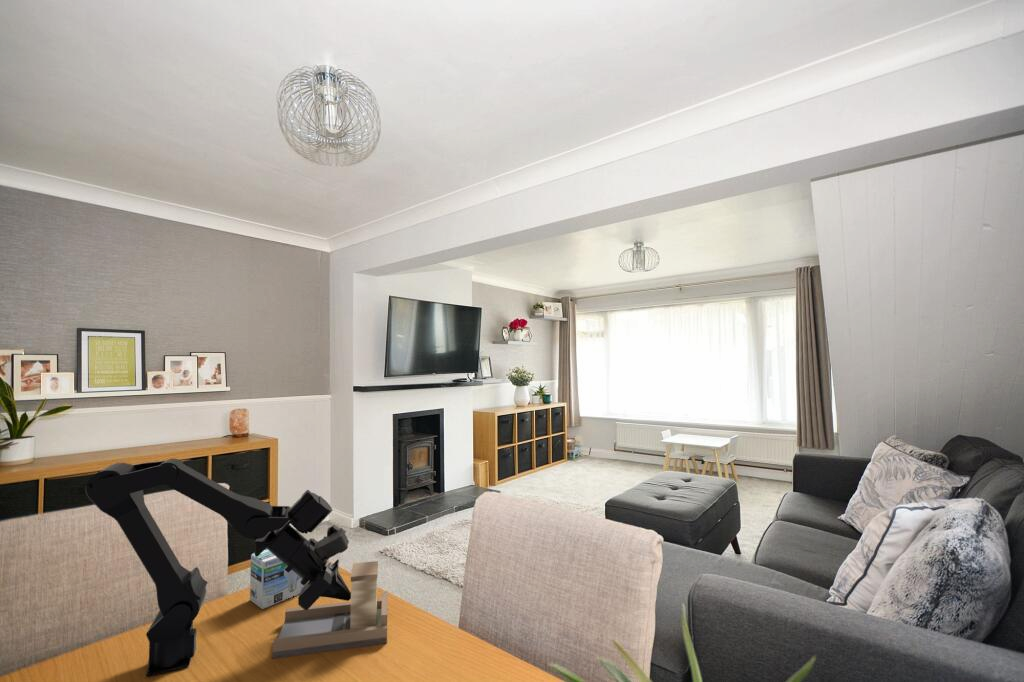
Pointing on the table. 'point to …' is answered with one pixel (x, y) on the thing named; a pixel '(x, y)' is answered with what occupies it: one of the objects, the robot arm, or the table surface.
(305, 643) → the box
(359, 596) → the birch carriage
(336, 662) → the table surface
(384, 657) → the table surface
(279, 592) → the light bulb box
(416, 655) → the table surface
